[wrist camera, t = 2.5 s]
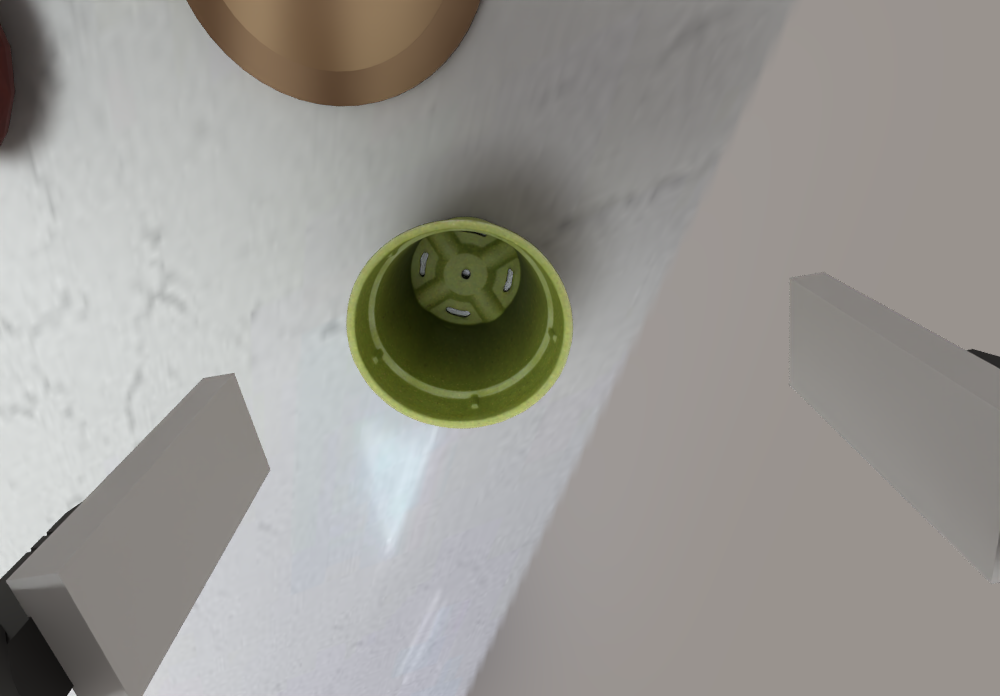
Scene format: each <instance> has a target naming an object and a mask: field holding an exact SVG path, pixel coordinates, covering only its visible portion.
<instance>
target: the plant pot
mask: <svg viewBox="0 0 1000 696" xmlns="http://www.w3.org/2000/svg"><path fill="white" fill-rule="evenodd" d="M463 231H472V232H478V233H483V234H487V235H486V236H485V237H483V236H481V235H478V234H475V233H470V232H463ZM426 252H427V253H428V254H429V255H428V258H427V262H426V267H425V275H424V276H423V277H422V276H421V275H420V274H419V270H420V258H421V256H422V254H423V253H426ZM465 269H466V270H469V271H470V277H469V278H468V279H464V278H463V277H462V276H461V274H462V271H463V270H465ZM508 269H511V270H512V271H513V279H512V285H511V287H510V290H508V291H507V292H504V291H503V289H504V286H505V283H506V280H507V273H508ZM447 307H450V308H454V309H456V310H460V311H469V312H470V313H471V314H470V315H469V316H467V317H459V316H455V315H452V314H450V313H448V312H447V311H446V308H447ZM572 335H573V319H572V311H571V306H570V301H569V298H568V295H567V292H566V289H565V287H564V285H563V283H562V281H561V279H560V277H559V275H558V273H557V272H556V270H555V269H554V267H553V266H552V264H551V263H550V262H549V261H548V259H547V258H546V257H545V256H544V255H543V254H542V253H541V252H540V251H539V250H538V249H537V248H536V247H535V246H534V245H532V244H531V243H530V242H528V241H527V240H525V239H524V238H523V237H521V236H519V235H518V234H516V233H514V232H512V231H510V230H508V229H505V228H503V227H500V226H498V225H495V224H492V223H490V222H488V221H485V220H482V219H479V218H474V217H456V218H451V219H447V220H441V221H435V222H431V223H427V224H423V225H420V226H417V227H415V228H412V229H410V230H408V231H406V232H404V233H402V234H400V235H398V236H396V237H395V238H393V239H392V240H390V241H389V242H388V243H386V244H385V245H384V246H383V247H381V248H380V249H379V250H378V251H377V252H376V253H375V254H374V255H373V256H372V257H371V259H370V260H369V261H368V262H367V263H366V265H365V266H364V268H363V269H362V271H361V272H360V274H359V276H358V278H357V280H356V282H355V284H354V287H353V289H352V292H351V295H350V299H349V303H348V310H347V336H348V342H349V347H350V351H351V354H352V357H353V360H354V362H355V364H356V366H357V368H358V369H359V371H360V373H361V375H362V377H363V378H364V380H365V381H366V383H367V384H368V385H369V387H370V388H371V389H372V390H373V391H374V392H375V393H376V394H377V395H378V396H379V397H380V398H381V399H382V400H383V401H385V402H386V403H387V404H388V405H389V406H391V407H392V408H394V409H395V410H397V411H398V412H400V413H402V414H404V415H406V416H408V417H410V418H412V419H415V420H417V421H420V422H423V423H426V424H431V425H435V426H440V427H447V428H477V427H482V426H487V425H492V424H495V423H499V422H502V421H505V420H507V419H509V418H511V417H514V416H516V415H518V414H520V413H522V412H524V411H526V410H527V409H528V408H530V407H531V406H532V405H534V404H535V403H536V402H538V401H539V400H540V399H541V398H542V397H543V396H544V395H545V394H546V393H547V392H548V391H549V389H550V388H551V387H552V386H553V385H554V383H555V382H556V380H557V379H558V377H559V376H560V374H561V372H562V370H563V368H564V366H565V364H566V361H567V357H568V355H569V351H570V347H571V343H572Z"/></svg>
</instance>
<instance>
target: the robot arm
mask: <svg viewBox="0 0 1000 696" xmlns="http://www.w3.org/2000/svg"><path fill="white" fill-rule="evenodd" d="M789 328H790V330H789V332H790V333H789V334H790V335H789V338H790V339H789V343H790V344H789V348H790V349H789V353H790V354H789V385H790V386H791V387H792V388H793V389H794V390H795V391H796V392H797V393H798V394H799V395H800V396H801V397H802V398H803V399H804V400H805V401H806V402H807V403H808V404H809V405H810V406H811V407H812V408H813V409H814V410H815V411H816V412H817V413H818V414H819V415H820V416H821V417H822V418H823V419H824V420H825V421H826V422H827V423H828V424H829V425H830V426H831V427H832V428H833V429H834V430H836V431H837V433H838V434H839V435H840V436H842V438H843V439H845V440H846V441H847V442H848V443H849V444H850V445H851V446H852V447H853V448H854V449H855V450H856V451H857V452H858V453H859V454H860V455H861V456H862V457H863V458H864V459H865V460H866V461H867V462H868V463H869V464H870V465H871V466H872V467H873V468H874V469H875V470H876V471H877V472H878V473H879V474H880V475H881V476H882V477H883V478H884V479H885V480H886V481H887V482H888V483H889V484H890V485H891V486H892V487H893V488H894V489H895V490H896V491H897V492H898V493H899V494H900V495H901V496H902V497H904V499H905V500H906V501H907V502H908V503H909V504H910V505H912V507H913V508H914V509H916V510H917V511H918V512H919V513H920V514H921V515H922V516H923V517H924V518H925V519H926V520H927V521H928V522H929V523H930V524H931V525H932V526H933V527H934V528H935V529H936V530H937V531H938V532H939V533H940V534H941V535H942V536H943V537H944V538H945V539H946V540H947V541H948V542H949V543H950V544H951V545H952V546H953V547H954V548H955V549H956V550H957V551H958V552H959V553H960V554H961V555H962V556H963V557H964V558H965V559H966V560H967V561H968V562H969V563H970V564H971V565H972V566H973V567H974V568H975V569H976V570H978V572H979V573H980V574H982V576H983V577H984V578H986V579H987V580H988V581H989V582H990V583H991V584H994V583H1000V357H999V356H995V355H992V354H988V353H984V352H981V351H977V350H974V349H972V350H965V349H963V348H961V347H959V346H957V345H955V344H954V343H952V342H950V341H948V340H946V339H945V338H943V337H941V336H939V335H937V334H936V333H934V332H932V331H930V330H928V329H926V328H925V327H923V326H921V325H919V324H917V323H915V322H914V321H912V320H910V319H908V318H906V317H905V316H903V315H901V314H899V313H897V312H895V311H894V310H892V309H890V308H888V307H886V306H885V305H883V304H881V303H879V302H877V301H875V300H874V299H872V298H870V297H868V296H866V295H865V294H863V293H861V292H859V291H857V290H855V289H854V288H852V287H850V286H848V285H846V284H845V283H843V282H841V281H839V280H837V279H835V278H834V277H832V276H830V275H828V274H826V273H824V272H821V273H815V274H810V275H804V276H798V277H792V278H790V327H789ZM269 471H270V467H269V465H268V462H267V459H266V457H265V454H264V451H263V449H262V446H261V443H260V441H259V438H258V435H257V433H256V430H255V427H254V425H253V422H252V419H251V417H250V414H249V411H248V409H247V406H246V403H245V401H244V398H243V395H242V393H241V390H240V387H239V385H238V382H237V379H236V377H235V374H234V373H231V374H225V375H220V376H214V377H208V378H203V379H202V380H201V381H200V382H199V383H198V384H197V385H196V386H195V387H194V388H193V389H192V390H191V391H190V392H189V393H188V394H187V395H186V396H185V397H184V398H183V399H182V401H181V402H180V403H179V404H178V405H177V406H176V407H175V408H174V409H173V410H172V411H171V412H170V413H169V414H168V415H167V416H166V417H165V418H164V419H163V420H162V421H161V422H160V423H159V424H158V425H157V426H156V427H155V428H154V429H153V430H152V431H151V432H150V433H149V434H148V435H147V436H146V437H145V438H144V439H143V441H142V442H141V443H140V444H139V445H138V446H137V447H136V448H135V449H134V450H133V451H132V452H131V453H130V454H129V455H128V456H127V457H126V458H125V459H124V460H123V461H122V462H121V463H120V464H119V465H118V466H117V467H116V468H115V469H114V470H113V471H112V472H111V473H110V474H109V475H108V476H107V477H106V478H105V480H104V481H103V482H102V483H101V484H100V485H99V486H98V487H97V488H96V489H95V490H94V491H93V492H92V493H91V494H90V495H89V496H88V497H87V498H86V499H85V500H84V501H83V502H81V503H80V504H78V505H77V506H75V507H74V508H73V509H71V510H70V511H68V512H67V513H65V514H64V515H63V516H62V517H61V518H60V519H59V520H58V521H57V522H56V523H55V525H54V526H53V527H52V528H51V529H50V530H49V531H48V532H47V536H43V537H42V538H41V539H40V540H39V541H38V542H37V543H36V544H35V545H34V546H33V547H32V548H31V552H27V553H26V554H25V555H24V556H23V557H22V558H21V559H20V560H19V561H18V562H17V563H16V564H15V565H14V566H13V567H12V568H11V569H10V570H9V571H8V572H7V573H6V574H5V575H4V576H3V577H2V578H1V579H0V696H67V695H68V693H69V692H70V691H71V689H72V688H73V690H74V692H75V693H76V695H77V696H142V695H143V694H144V692H145V690H146V688H147V687H148V685H149V683H150V681H151V679H152V678H153V676H154V674H155V672H156V671H157V669H158V667H159V665H160V664H161V662H162V660H163V658H164V657H165V655H166V653H167V651H168V649H169V648H170V646H171V644H172V642H173V641H174V639H175V637H176V635H177V634H178V632H179V630H180V628H181V626H182V625H183V623H184V621H185V619H186V618H187V616H188V614H189V612H190V611H191V609H192V607H193V605H194V604H195V602H196V600H197V598H198V596H199V595H200V593H201V591H202V589H203V588H204V586H205V584H206V582H207V581H208V579H209V577H210V575H211V574H212V572H213V570H214V568H215V566H216V565H217V563H218V561H219V559H220V558H221V556H222V554H223V552H224V551H225V549H226V547H227V545H228V543H229V542H230V540H231V538H232V536H233V535H234V533H235V531H236V529H237V528H238V526H239V524H240V522H241V521H242V519H243V517H244V515H245V513H246V512H247V510H248V508H249V506H250V505H251V503H252V501H253V499H254V498H255V496H256V494H257V492H258V491H259V489H260V487H261V485H262V483H263V482H264V480H265V478H266V476H267V475H268V473H269Z"/></svg>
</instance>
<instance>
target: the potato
mask: <svg viewBox="0 0 1000 696" xmlns="http://www.w3.org/2000/svg"><path fill="white" fill-rule="evenodd" d="M14 94H15V87H14V77H13V67H12V57H11V47H10V45H9V42H8V40H7V38H6V36H5V33H4V31H3V29H2V27H1V24H0V146H1V144H2V142H3V140H4V138H5V136H6V134H7V132H8V128H9V123H10V117H11V111H12V106H13V100H14Z"/></svg>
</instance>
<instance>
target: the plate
mask: <svg viewBox="0 0 1000 696" xmlns="http://www.w3.org/2000/svg"><path fill="white" fill-rule="evenodd" d="M187 2H188V4H189V5H190V7H191V9H192V11H193V12H194V14H195V16H196V18H197V19H198V20H199V22H200V23H201V25H202V26H203V27H204V29H205V30H206V31H207V33H208V34H209V36H210V37H211V38H212V39H213V40H214V41H215V43H216V44H217V45H218V46H219V47H220V48H221V49H222V50H223V51H224V52H225V54H226V55H227V56H229V57H230V58H231V59H232V60H233V61H234V62H235V63H236V64H238V65H239V66H240V67H241V68H242V69H243V70H245V71H246V72H248V73H249V74H250V75H252V76H253V77H255V78H256V79H258V80H259V81H260V82H262V83H264V84H266V85H268V86H270V87H271V88H273V89H275V90H277V91H279V92H281V93H284V94H286V95H289V96H292V97H294V98H297V99H299V100H304V101H308V102H312V103H316V104H322V105H332V106H358V105H364V104H369V103H375V102H380V101H383V100H386V99H389V98H392V97H395V96H398V95H400V94H402V93H404V92H406V91H408V90H410V89H412V88H414V87H416V86H417V85H418V84H420V83H421V82H423V81H424V80H426V79H427V78H428V77H430V76H431V75H432V74H433V73H434V72H435V71H436V70H438V69H439V68H440V67H441V66H442V65H443V64H444V63H445V62H446V61H447V59H448V58H449V57H450V56H451V55H452V53H453V52H454V51H455V50H456V48H457V47H458V46H459V44H460V42H461V41H462V39H463V38H464V36H465V34H466V33H467V31H468V29H469V27H470V25H471V23H472V21H473V19H474V16H475V14H476V12H477V10H478V7H479V3H480V0H187Z"/></svg>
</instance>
